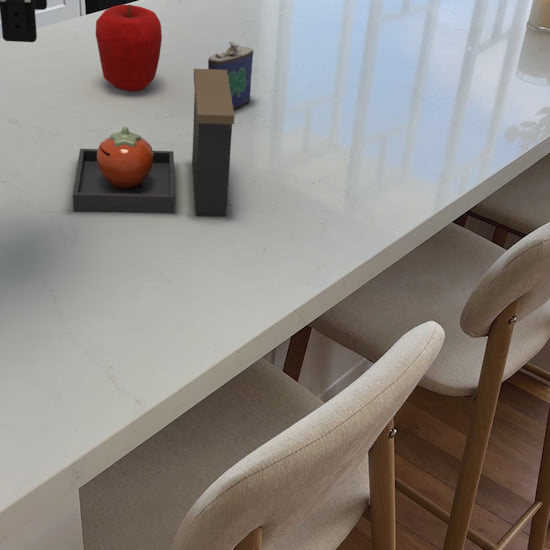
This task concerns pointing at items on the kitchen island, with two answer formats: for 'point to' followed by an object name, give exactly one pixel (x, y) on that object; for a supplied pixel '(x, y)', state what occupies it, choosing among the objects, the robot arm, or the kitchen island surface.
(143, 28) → the apple
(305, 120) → the kitchen island surface
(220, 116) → the tower
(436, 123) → the kitchen island surface
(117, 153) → the tomato
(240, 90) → the flask
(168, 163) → the pan
